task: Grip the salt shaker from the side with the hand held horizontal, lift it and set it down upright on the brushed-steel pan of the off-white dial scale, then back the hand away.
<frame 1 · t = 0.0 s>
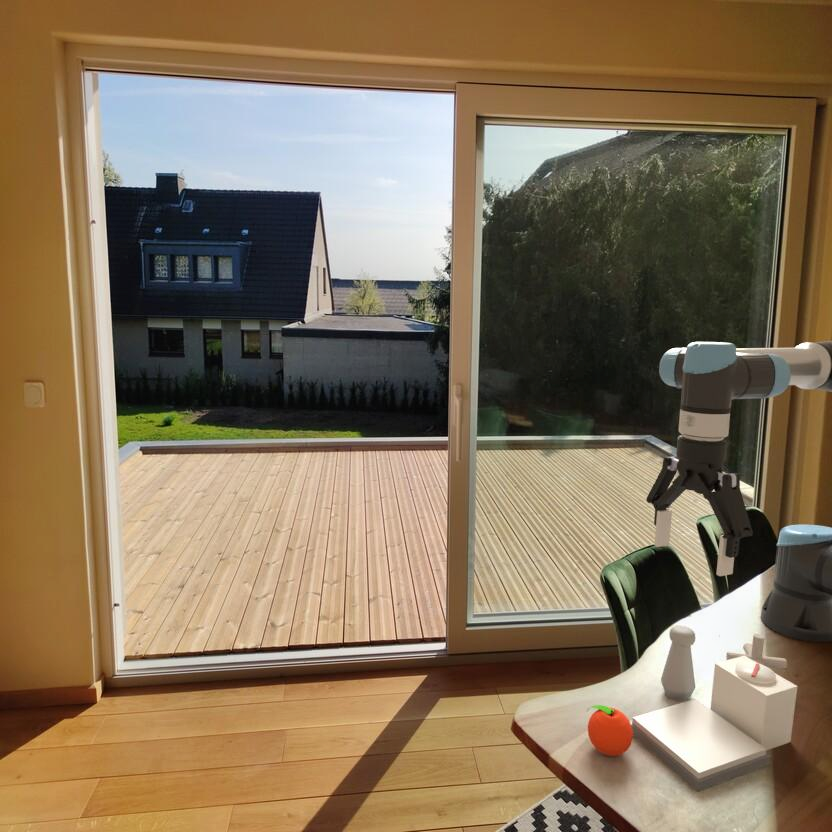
hand: (691, 559, 109), 28 cm above the table, tool pointing down, fingers open, 13 cm apart
pipe connector: (753, 686, 121), on the table
dial scale: (695, 746, 104), on the table
salt shaker: (676, 695, 118), on the table
clementine: (605, 750, 103), on the table
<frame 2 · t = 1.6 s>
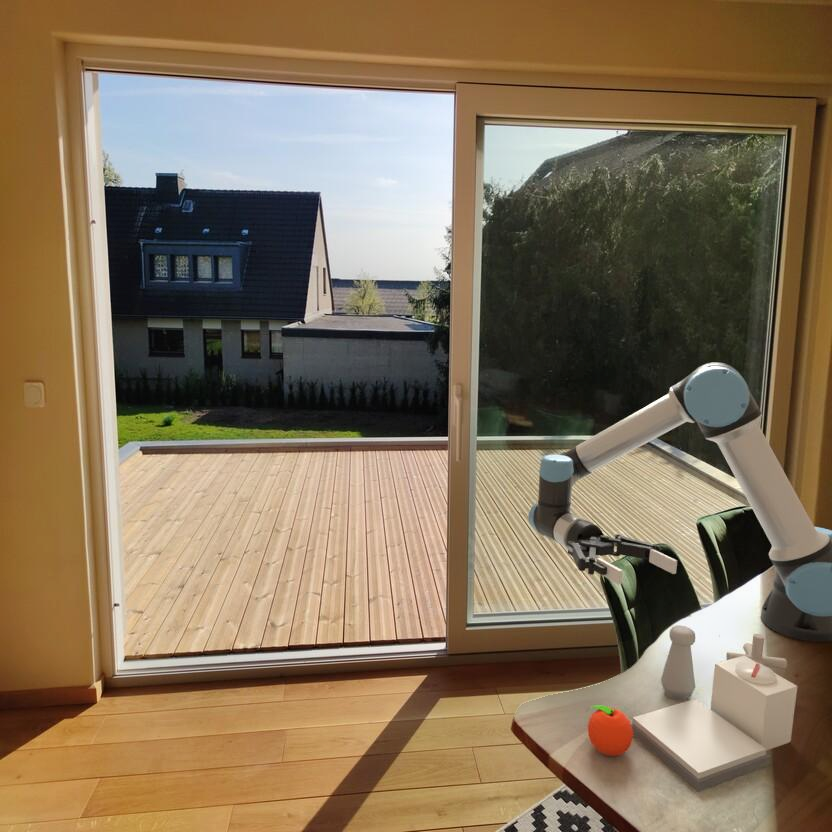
hand: (648, 572, 123), 20 cm above the table, tool horizontal, fingers open, 13 cm apart
nothing on the table moved.
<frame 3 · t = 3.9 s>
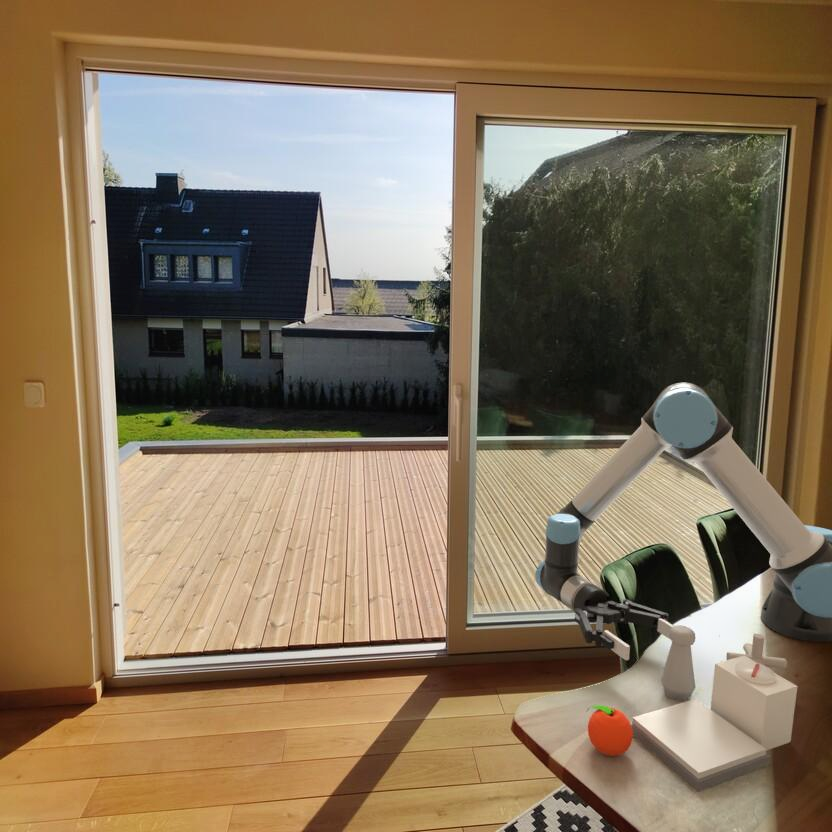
hand: (656, 646, 121), 7 cm above the table, tool horizontal, fingers open, 13 cm apart
nothing on the table moved.
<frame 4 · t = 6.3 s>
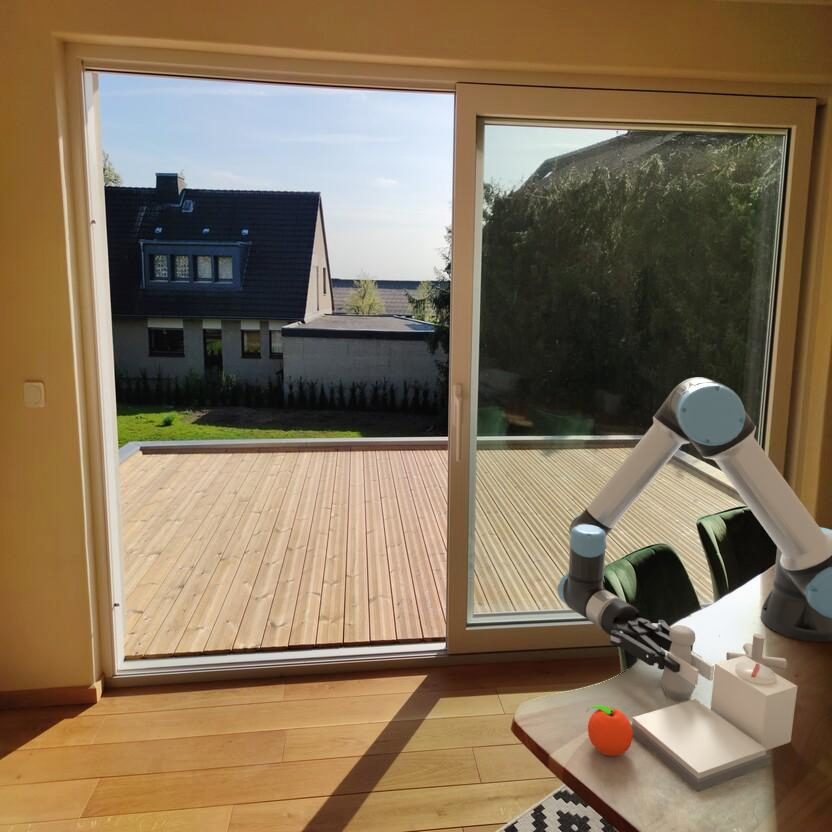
hand: (704, 675, 112), 7 cm above the table, tool horizontal, fingers closed on salt shaker, 3 cm apart
salt shaker: (676, 695, 118), on the table, touching gripper
everything else where it was.
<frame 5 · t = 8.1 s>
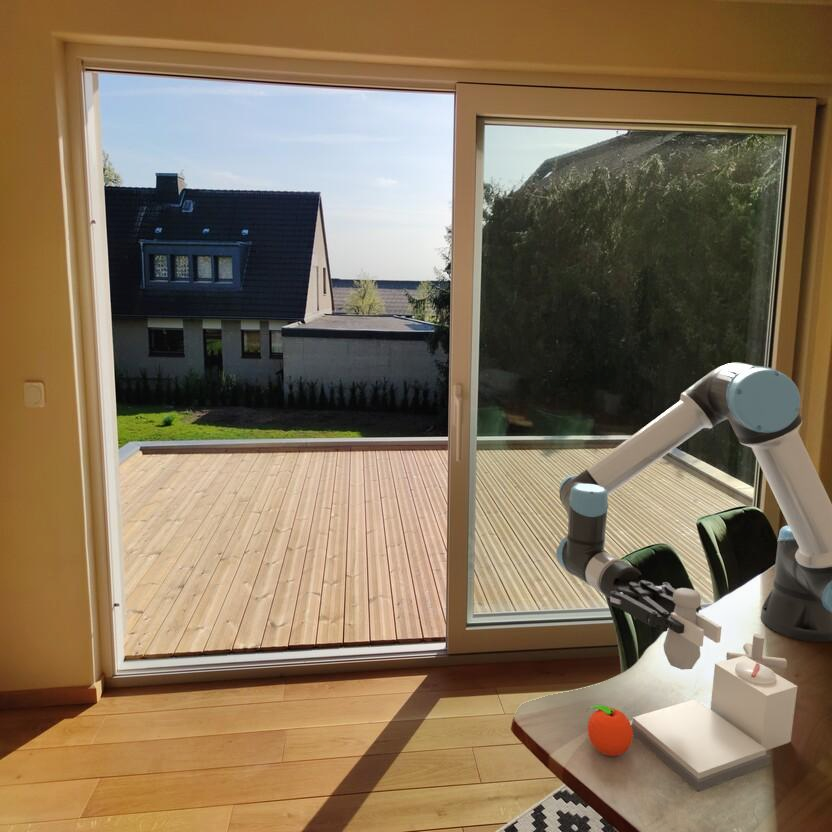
hand: (710, 636, 103), 18 cm above the table, tool horizontal, fingers closed on salt shaker, 3 cm apart
salt shaker: (680, 664, 109), point 10 cm above the table, touching gripper
everything else where it was.
when the fingers open (11 cm above the table, at t = 10.0 s): salt shaker stays where it is, resting on dial scale.
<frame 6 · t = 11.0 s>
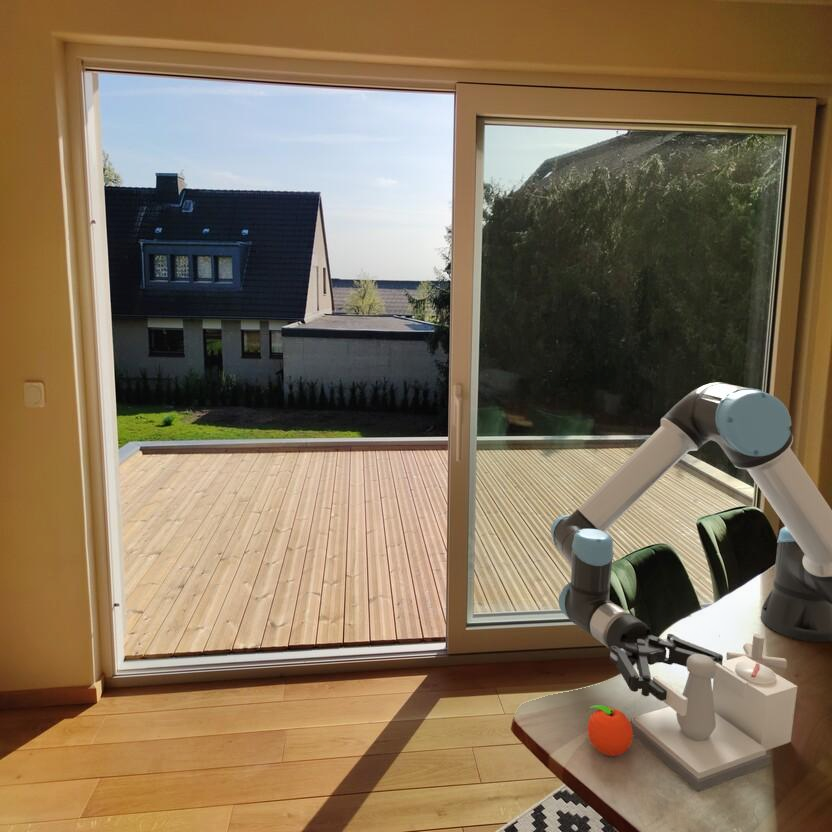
hand: (716, 699, 98), 11 cm above the table, tool horizontal, fingers open, 12 cm apart
salt shaker: (694, 734, 103), point 2 cm above the table, touching dial scale
everything else where it was.
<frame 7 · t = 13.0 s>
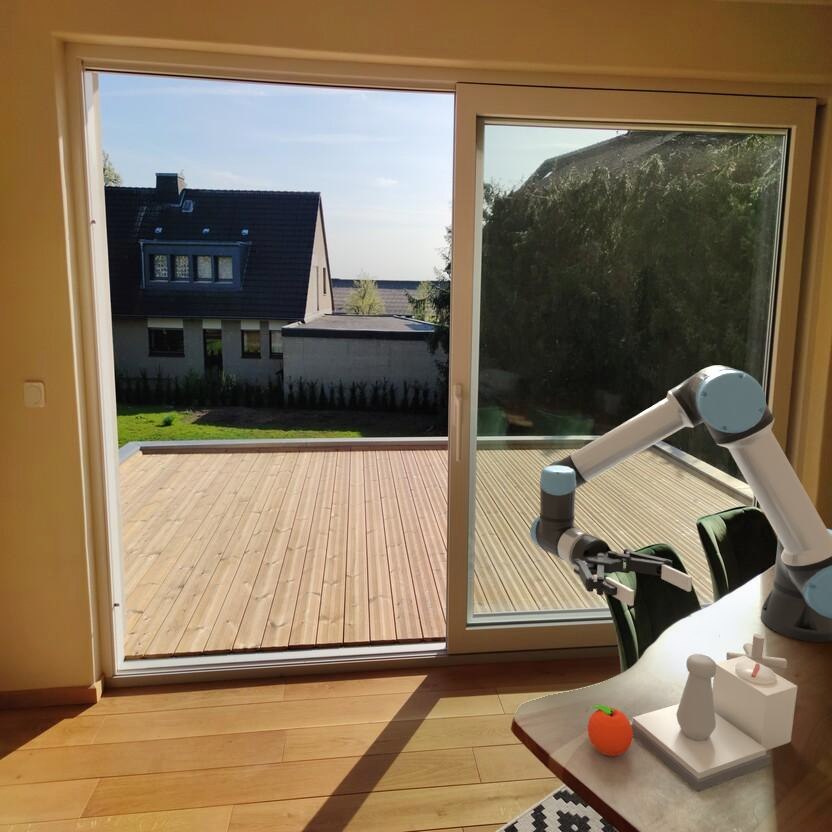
hand: (662, 591, 114), 20 cm above the table, tool horizontal, fingers open, 13 cm apart
nothing on the table moved.
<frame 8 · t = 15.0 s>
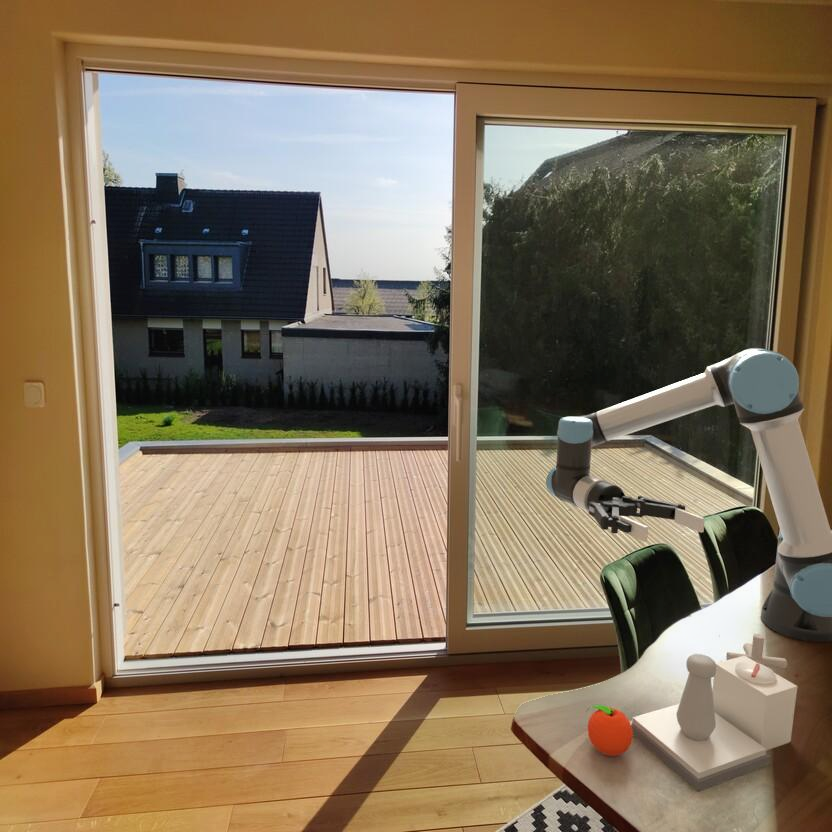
hand: (675, 529, 117), 30 cm above the table, tool horizontal, fingers open, 13 cm apart
nothing on the table moved.
at the end: salt shaker inside the target area on the dial scale (0.5 cm from its centre), point 2.3 cm above the dial scale's base; salt shaker tilted 0°; the gripper is holding nothing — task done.
